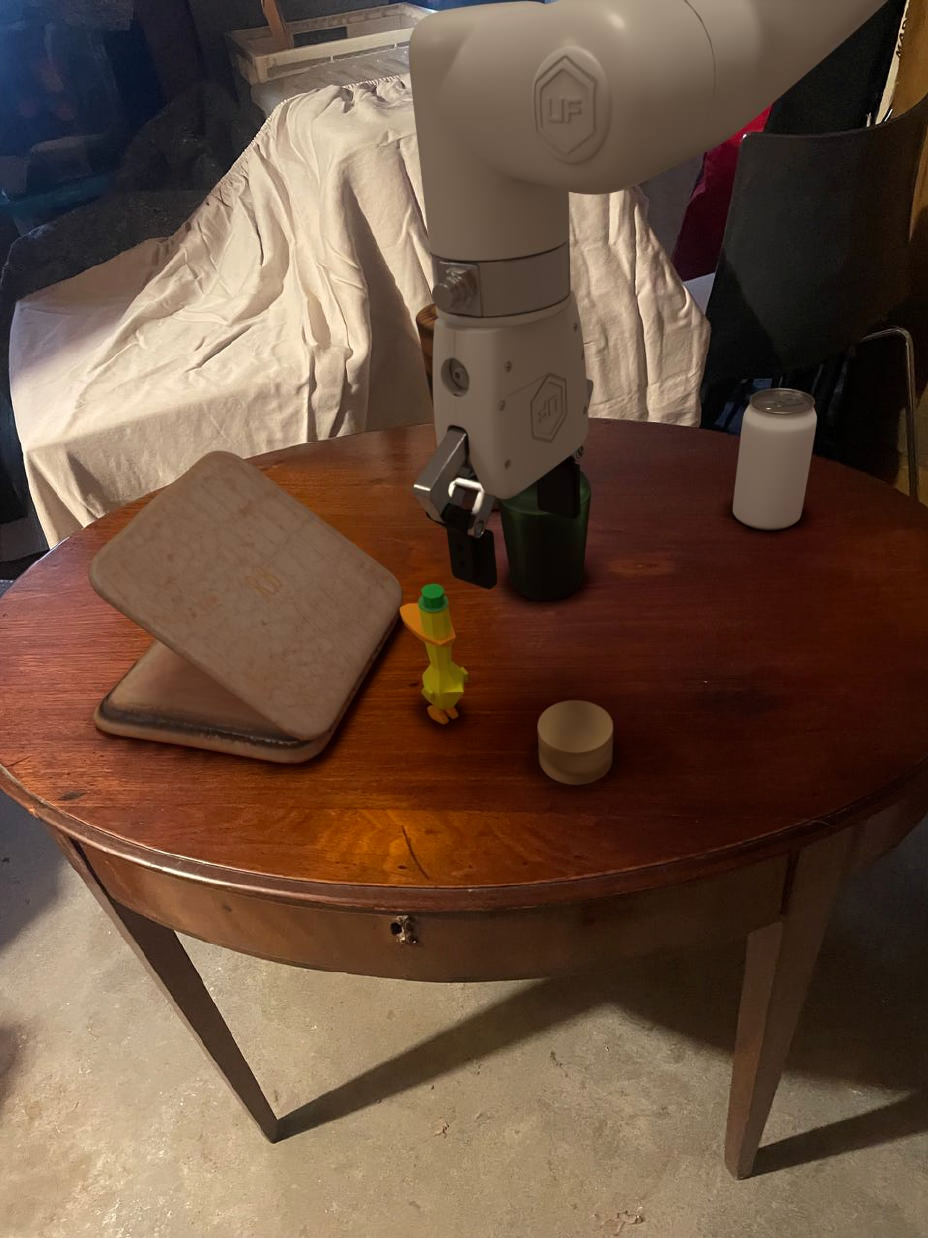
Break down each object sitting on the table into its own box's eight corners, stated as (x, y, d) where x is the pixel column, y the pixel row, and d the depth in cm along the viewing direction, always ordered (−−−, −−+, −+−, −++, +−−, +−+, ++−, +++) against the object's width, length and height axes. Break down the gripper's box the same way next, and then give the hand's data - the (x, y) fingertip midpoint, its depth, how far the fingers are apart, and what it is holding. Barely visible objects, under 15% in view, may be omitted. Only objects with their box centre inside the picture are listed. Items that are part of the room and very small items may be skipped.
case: (321, 778, 63) (274, 595, 53) (80, 734, 69) (-2, 564, 59) (416, 612, 78) (392, 448, 69) (212, 588, 84) (164, 434, 75)
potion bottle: (603, 597, 78) (606, 405, 67) (515, 615, 77) (503, 423, 66) (575, 551, 84) (573, 369, 74) (493, 566, 83) (479, 385, 73)
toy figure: (399, 701, 69) (377, 574, 62) (435, 681, 71) (418, 555, 63) (449, 746, 64) (433, 615, 57) (487, 724, 66) (475, 593, 59)
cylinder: (619, 739, 64) (620, 707, 62) (603, 791, 60) (603, 758, 58) (549, 726, 65) (548, 694, 63) (530, 776, 61) (528, 744, 60)
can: (720, 506, 89) (732, 393, 82) (778, 494, 90) (795, 381, 82) (752, 537, 84) (767, 419, 76) (814, 524, 84) (834, 407, 77)
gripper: (458, 338, 41) (487, 631, 51) (639, 243, 51) (633, 502, 61) (343, 319, 45) (390, 594, 55) (532, 235, 55) (543, 479, 65)
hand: (519, 545), depth 58 cm, fingers open, 9 cm apart
